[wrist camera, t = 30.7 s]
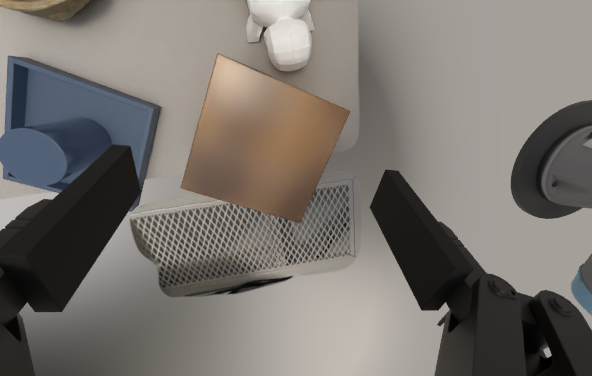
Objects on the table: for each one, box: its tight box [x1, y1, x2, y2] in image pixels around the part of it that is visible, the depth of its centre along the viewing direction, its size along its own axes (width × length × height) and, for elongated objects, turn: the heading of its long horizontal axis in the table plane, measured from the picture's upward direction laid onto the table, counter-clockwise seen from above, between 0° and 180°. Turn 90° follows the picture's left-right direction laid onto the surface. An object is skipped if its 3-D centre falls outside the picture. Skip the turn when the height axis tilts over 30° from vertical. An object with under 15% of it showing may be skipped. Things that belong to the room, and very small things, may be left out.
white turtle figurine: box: [246, 0, 314, 71], centre depth 29 cm, size 9×8×15 cm
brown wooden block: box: [181, 54, 350, 223], centre depth 30 cm, size 12×12×15 cm
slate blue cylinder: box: [0, 118, 112, 186], centre depth 30 cm, size 6×6×9 cm
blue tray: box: [3, 56, 161, 212], centre depth 34 cm, size 15×15×2 cm
